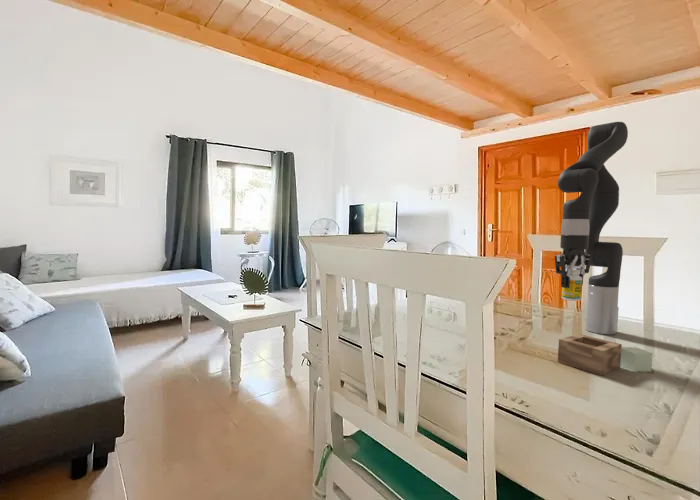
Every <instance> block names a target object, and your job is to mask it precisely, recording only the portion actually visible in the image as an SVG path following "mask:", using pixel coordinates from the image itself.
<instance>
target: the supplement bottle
mask: <svg viewBox="0 0 700 500" xmlns="http://www.w3.org/2000/svg"><path fill="white" fill-rule="evenodd" d="M566 271H567V269H566ZM579 274H580V270H578V269H574V268H573V270H571V272H570V275H569V276H570V283H569V288H563V287H561V298H562V300H563V301H564V300H565V301H572V302H580V301H581V300H582V291H583V286H582V277H580V276H579Z"/></svg>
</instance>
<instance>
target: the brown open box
mask: <svg viewBox="0 0 700 500" xmlns="http://www.w3.org/2000/svg"><path fill="white" fill-rule="evenodd" d="M622 347H623V346H622V344H621V343H618V342H614V341H609V340H605V339H602V338H599V337H593V336H589V335H585V334H581V333H577V334H573V335H570V336H566V337H563V338H559V339H558V349H557V351H558V352H557V362H558V363H560V364H562V365H567V366H570V367H573V368H577V369H580V370H583V371H585V372H589V373H590V374H591V373H592V374H595V375H598V376H603V375H605V374H608V373H611V372H612V371H615V370H617V369H620V368H621V366H620V362H621V348H622Z"/></svg>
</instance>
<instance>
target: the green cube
mask: <svg viewBox="0 0 700 500" xmlns="http://www.w3.org/2000/svg"><path fill="white" fill-rule="evenodd" d="M652 366H653V352H650V351H648V350H646V349H645V350H644V349H641V348H639V347H638V346H637V347H636V346H631V347H630V346H628V347H623V346H622V347H621V362H620V367H623V368H625V369H627V370H629V369H630V370H629V371H632V372H634V371H635V372H634V373H637V372H636V371H645V372H652Z"/></svg>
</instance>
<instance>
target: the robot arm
mask: <svg viewBox="0 0 700 500" xmlns="http://www.w3.org/2000/svg"><path fill="white" fill-rule="evenodd" d="M628 134H629V130H628V127H627V124H626V123H625V122H624V121H613V122H609V123H601V124H597V125H593V126H591V127H590V128H589V130H588V133H587V151H585V152H584V153H583V154H582V155H581V156H580V157H579V158H578V160H577V161H576V162H575V163H573V164H572V165H570V166H568V167H567V168H565V169H564V170H563V171H562V172H561V173H560V175H559V176H558V179H557V186H558V189H559V190H560V191H561V192H563V193H564V194H565V193H566V194H567V193H568V194H569V193H572V194H573V193H574V194H575V193H580V195H579V196H578V197H577V198H575V199H570V200H566V201H565V202H564V203H563V207H562V210H563V211H562V220H561V221H562V222H561V228H560V243H559V245H560V246H559V247H560V248H561V249H562V254H555V255H554V265H555V273H556V274H558V275H560V277H561V279H560V287H561V288H562V287H563V288H569V283H570V276H569V275H570V272H571V270H573V269H578V270H580V274H579V276H580V277H582V287H583V285H584V277H585V275H586V274H589V272H590V268H591V267H598V268H599V267H601V268H607V269H606V271H605V272H603V273H600V274H596V275H591V276H589V277H588V285H587V301H586V302H587V305H586V317H585V318H586V321H585V322H586V323H585V329H586V331H588V332H591V333H595V334H599V335H600V334H601V335H615V334H617V332H618V324H619V322H618V321H619V293H620V292H619V290H620V279H621V269H622V261H623V255H624V254H623V253H624V251H623V250H624V249H623V246H622V244H621V243H619V242H615V241H614V242H613V241H609V242H608V241H600V235H601V232H602V230H603V229H604V226H605V225H606V223H607V222H608V221H609V219H611V217H612V216H614V215H613V214H614V213H615V212H616V211H617V209H618V207H619V202H620V201H619V200H620V186H619V184H618V182H617V181H616V179H615V178H614V176H613V175H612V174H611V173H610V171H609V170H608V169H607V167H606V165H605V163H606V162H607V161H608V160H610V158H611V157H612V156H614V155H615V154H616V153H617V152H619V151H620V150H621V149H622V148H623V147H624V146H625V144H627V141H628ZM566 269H567V271H566Z"/></svg>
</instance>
